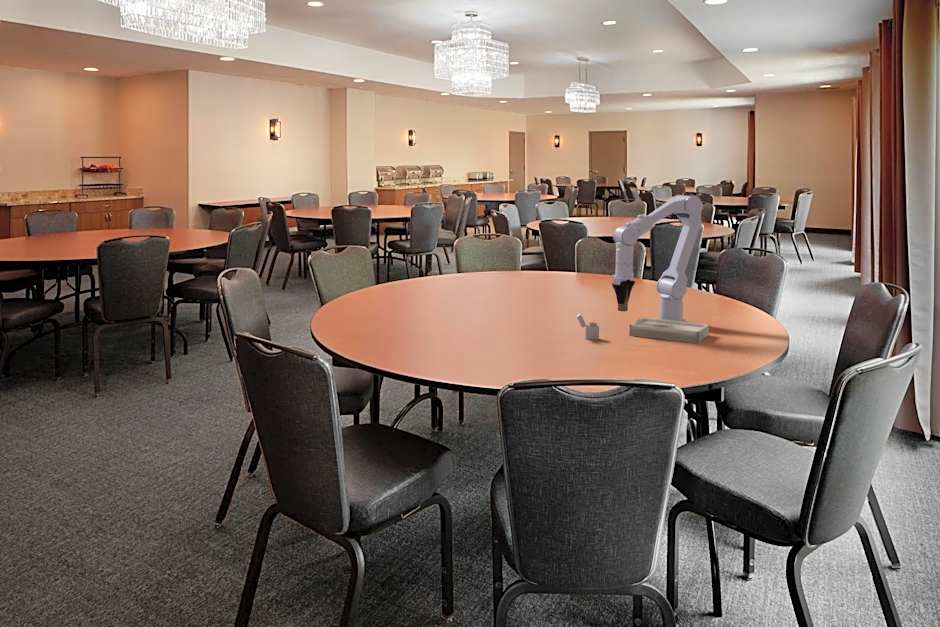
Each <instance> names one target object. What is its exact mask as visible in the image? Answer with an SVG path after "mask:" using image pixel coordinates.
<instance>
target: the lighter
mask: <svg viewBox="0 0 940 627" xmlns="http://www.w3.org/2000/svg"><path fill="white" fill-rule="evenodd" d="M576 318H577V320H578V322H579V324H580V327H581V328H584V327H585V340H593V341H594V340H600V338H599V337H600V325H598V324H597V322H593V321H592V322H590V321H589V324H586V322H585V319H584V317H583V315H582V314H581V313H578V314H576Z"/></svg>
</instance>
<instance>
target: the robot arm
mask: <svg viewBox="0 0 940 627" xmlns="http://www.w3.org/2000/svg"><path fill="white" fill-rule="evenodd" d="M703 209H704V203H703V202H702V199H701V198H700V197H699V196H698V195H683V194H676V195H674V196H673V197H670V198H668V199H667V201H666V202H664V203H663V204H662V205H660V206H659V207H657V208H656V209H655V210H653V211H652V212H650V213H649V214H648V215H647V214H644V213H643V214H637V216H636V218H635V219H633V220H631V221H630V222H626V223H625V226H619V227H617V228H616V229H615V231H614V232H613V235H612V238H613V241H614V243H615V270H614V271H615V274H612V275H611V278H613V281H612V282H611V286H612V288H613V289H614V292H615V297H616V302H617V305H618V304H624V303H625V299H626V293H627V290H628V302H629V299H630V297H631V293H632V290H633V288H634V285H635V284H636V281H635V280H634V275H635V273H634V253H635V252H634V249H635V248H634V245H635V244H636V242H638V239H639V238H640V237H641V236H643V235H644V234H646V233H648V232H649V231H651V230H653V228H654V224H657V222H660V220H663V219H665V218H666V217H668V216H671V215H672V214H675V215H676V216H677V217H678V219H679V220H680V221H681V223H682V228H681V231H680V234H679V236H678V240H677V243H676V246H675V249H674V251H673V255H672V258H671V260H670V264H669V267H668V268H667V269H666V270H665V271H663V272H662V273H661V274H662V275H661V276H660V278H659V279H658V281H657V282H656V292H658V294H659V299H660V300H659V315H658V319H662V320H671V321H681V322H686V319H685V318H683V314H684V313H683V312H684V302H683V298H684V297H685V295H686V293H687V292H688V287H687V286H688V280H689V279H688V276H687V274H686V270H687V267H688V265H689V264H688V263H689V261H690V259H691V254H692V253H693V249H694V246H695V243H696V241H697V237H698V234H699V232H700V230H701V226H702V211H703Z"/></svg>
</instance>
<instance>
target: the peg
mask: <svg viewBox="0 0 940 627" xmlns="http://www.w3.org/2000/svg"><path fill="white" fill-rule="evenodd" d="M628 304H629V301H628V290H627V293H626V299H625V303H624V304H618V303H617V311H618V312H628V307H629V306H628Z"/></svg>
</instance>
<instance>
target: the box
mask: <svg viewBox="0 0 940 627" xmlns="http://www.w3.org/2000/svg"><path fill="white" fill-rule="evenodd" d="M709 331H710V324H709V323H699V322H698V323H697V322H689V321H684V322H681V321H671V320H662V319H659V318H651V317H650V318H649V317H641V318H639V319H638V320H636V321H634V322H632V323H630V324H629V332H628V334H629V336H633V337H640V338H651V339H659V340H664V341H665V340H666V341H667V340H668V341H674V342H684V343H691V344H700V343H701V342H703V340H704V339H706V338H707V337H708V336H709V333H710V332H709Z"/></svg>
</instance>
